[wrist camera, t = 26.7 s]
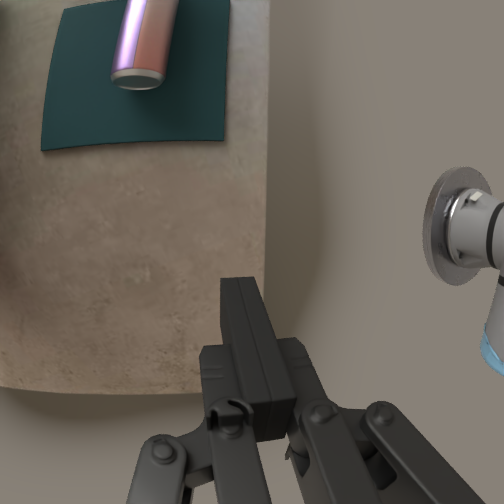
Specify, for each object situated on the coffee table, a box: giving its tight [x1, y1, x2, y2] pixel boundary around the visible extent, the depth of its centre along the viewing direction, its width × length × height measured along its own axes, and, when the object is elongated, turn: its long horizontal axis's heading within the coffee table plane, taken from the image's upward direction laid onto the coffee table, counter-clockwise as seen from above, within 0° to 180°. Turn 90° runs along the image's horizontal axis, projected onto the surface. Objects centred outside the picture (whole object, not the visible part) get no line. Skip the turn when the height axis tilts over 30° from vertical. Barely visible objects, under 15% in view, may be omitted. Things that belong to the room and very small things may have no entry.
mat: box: [41, 0, 230, 151], centre depth 28 cm, size 22×20×1 cm
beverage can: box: [110, 0, 179, 90], centre depth 25 cm, size 6×6×15 cm
